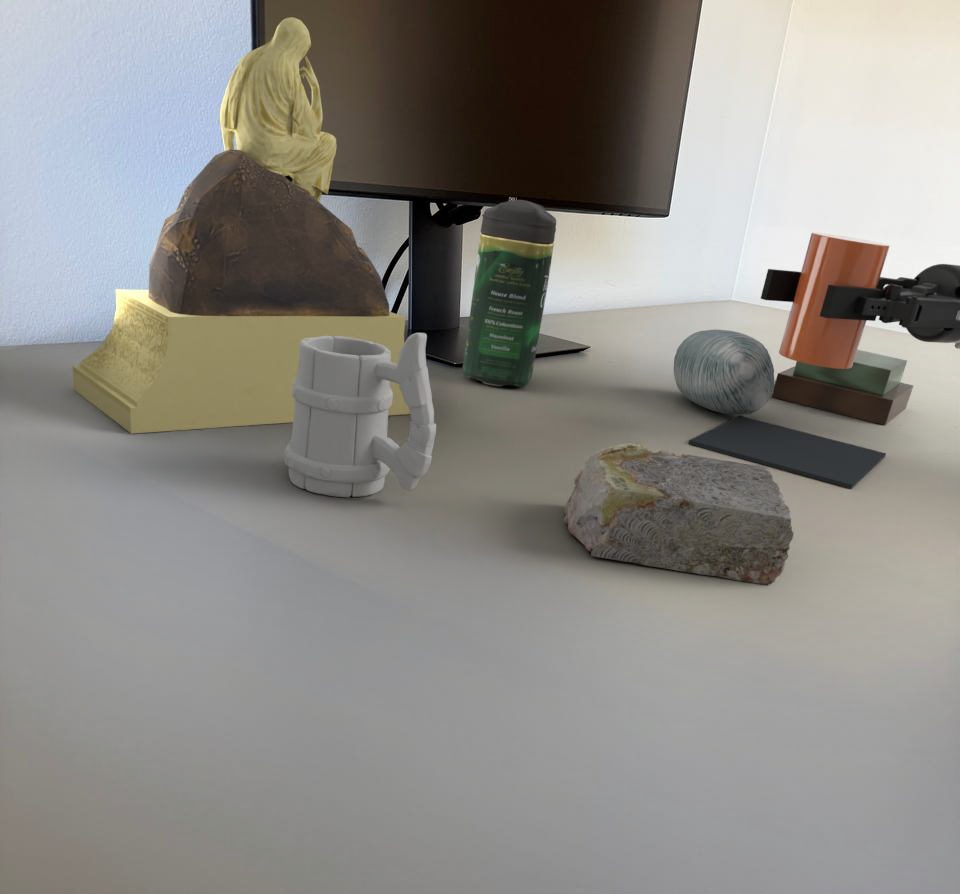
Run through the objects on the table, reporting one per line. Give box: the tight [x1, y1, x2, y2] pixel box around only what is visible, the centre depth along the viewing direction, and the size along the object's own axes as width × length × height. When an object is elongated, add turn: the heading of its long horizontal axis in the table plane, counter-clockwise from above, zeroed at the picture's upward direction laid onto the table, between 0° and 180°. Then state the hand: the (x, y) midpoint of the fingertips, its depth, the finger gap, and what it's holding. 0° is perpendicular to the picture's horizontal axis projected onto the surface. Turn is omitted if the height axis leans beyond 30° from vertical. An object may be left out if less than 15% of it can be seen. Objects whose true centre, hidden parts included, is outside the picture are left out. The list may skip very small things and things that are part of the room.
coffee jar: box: [462, 199, 557, 388], centre depth 105 cm, size 10×8×19 cm
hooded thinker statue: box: [72, 16, 411, 435], centre depth 81 cm, size 28×13×30 cm, turn 129°
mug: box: [284, 332, 437, 498], centre depth 69 cm, size 8×12×12 cm, turn 59°
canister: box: [778, 231, 891, 369], centre depth 92 cm, size 7×7×11 cm
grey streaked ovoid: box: [673, 328, 775, 416], centre depth 109 cm, size 14×10×10 cm
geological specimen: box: [563, 442, 795, 585], centre depth 69 cm, size 11×6×15 cm
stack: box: [771, 349, 914, 426], centre depth 122 cm, size 14×14×6 cm
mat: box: [688, 415, 887, 490], centre depth 98 cm, size 16×16×1 cm
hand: (796, 292), depth 89 cm, fingers closed on canister, 7 cm apart
